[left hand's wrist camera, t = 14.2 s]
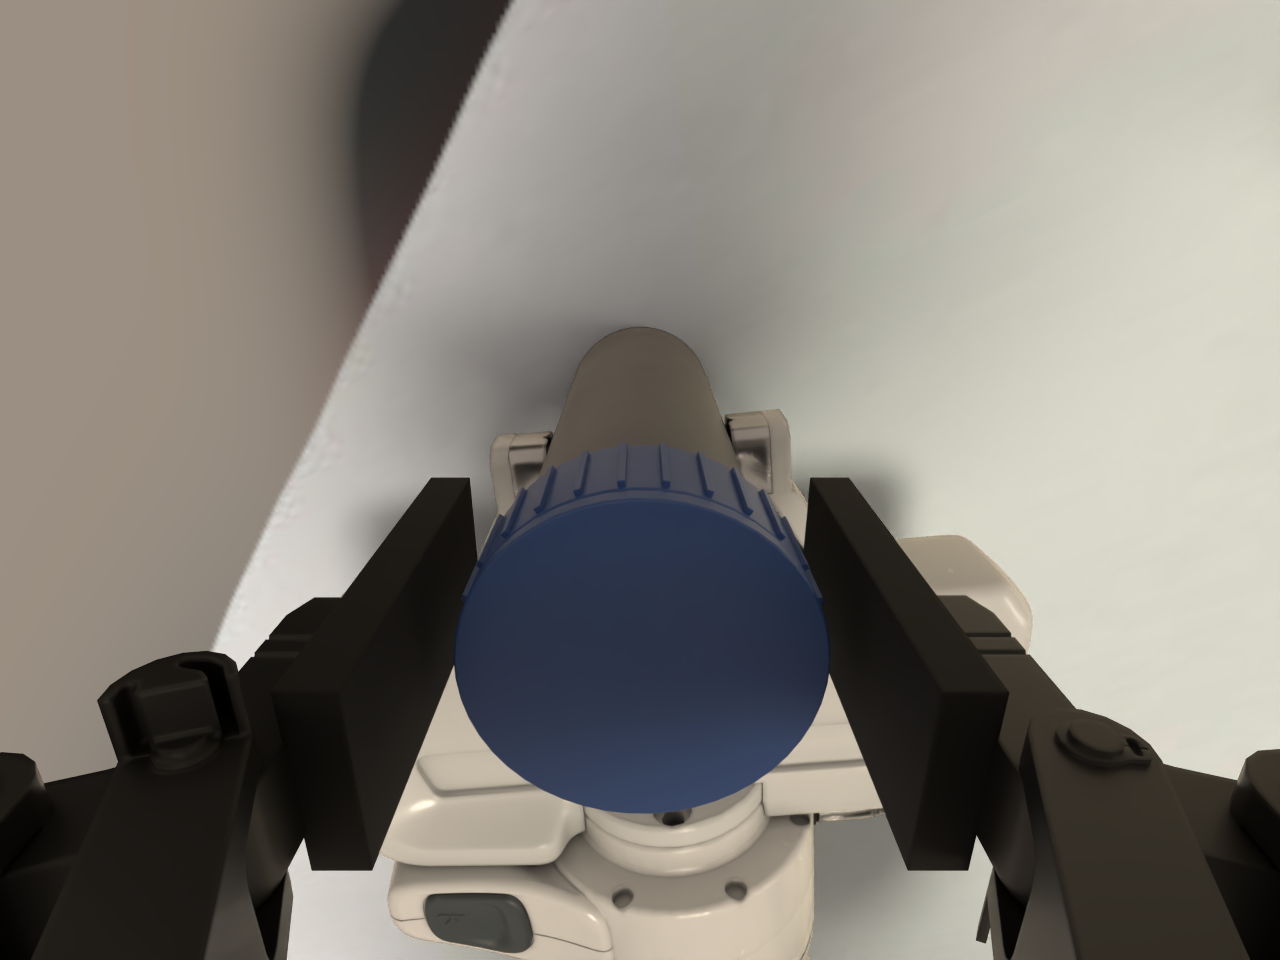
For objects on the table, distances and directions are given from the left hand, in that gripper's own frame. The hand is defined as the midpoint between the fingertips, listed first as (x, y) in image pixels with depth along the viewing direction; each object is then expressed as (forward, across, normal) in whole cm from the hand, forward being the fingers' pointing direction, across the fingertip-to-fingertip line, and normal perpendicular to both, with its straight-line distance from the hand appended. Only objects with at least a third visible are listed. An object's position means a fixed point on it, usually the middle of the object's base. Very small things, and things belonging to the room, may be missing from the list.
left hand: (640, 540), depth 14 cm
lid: (-4, 0, 0) cm, 4 cm away
